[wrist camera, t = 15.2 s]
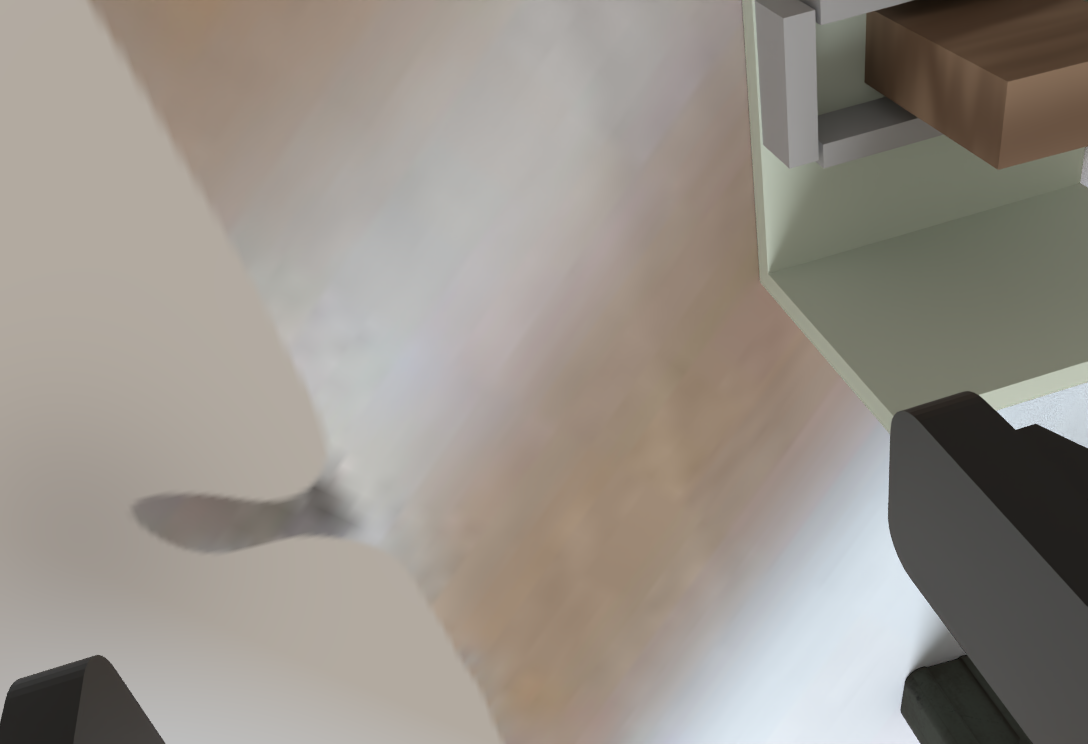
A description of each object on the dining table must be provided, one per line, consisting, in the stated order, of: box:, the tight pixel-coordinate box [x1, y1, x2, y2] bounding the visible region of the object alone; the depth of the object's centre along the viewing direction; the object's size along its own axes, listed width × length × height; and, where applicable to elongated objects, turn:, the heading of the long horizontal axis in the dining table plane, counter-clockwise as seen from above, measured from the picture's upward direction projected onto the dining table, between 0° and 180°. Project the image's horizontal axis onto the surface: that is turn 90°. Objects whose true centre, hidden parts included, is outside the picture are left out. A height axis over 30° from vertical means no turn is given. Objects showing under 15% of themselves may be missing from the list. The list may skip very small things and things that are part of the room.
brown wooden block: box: [864, 0, 1088, 170], centre depth 37 cm, size 3×6×9 cm, turn 99°
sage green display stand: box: [742, 0, 1088, 434], centre depth 38 cm, size 14×15×13 cm
